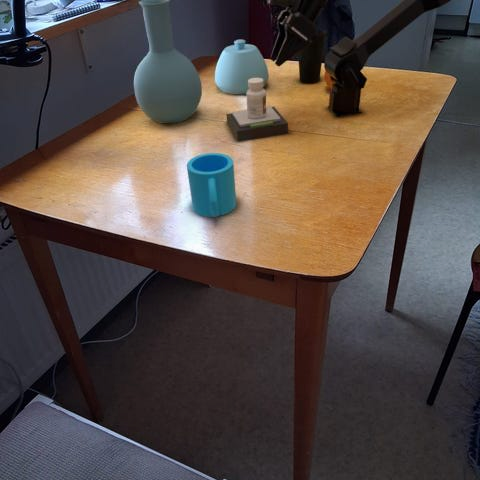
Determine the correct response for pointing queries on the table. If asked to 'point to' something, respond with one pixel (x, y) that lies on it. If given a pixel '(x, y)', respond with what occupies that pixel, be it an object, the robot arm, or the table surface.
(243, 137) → the scale
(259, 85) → the pill bottle
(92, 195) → the table surface
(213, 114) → the table surface
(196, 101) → the vase
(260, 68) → the sugar bowl
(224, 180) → the mug
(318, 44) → the cup
